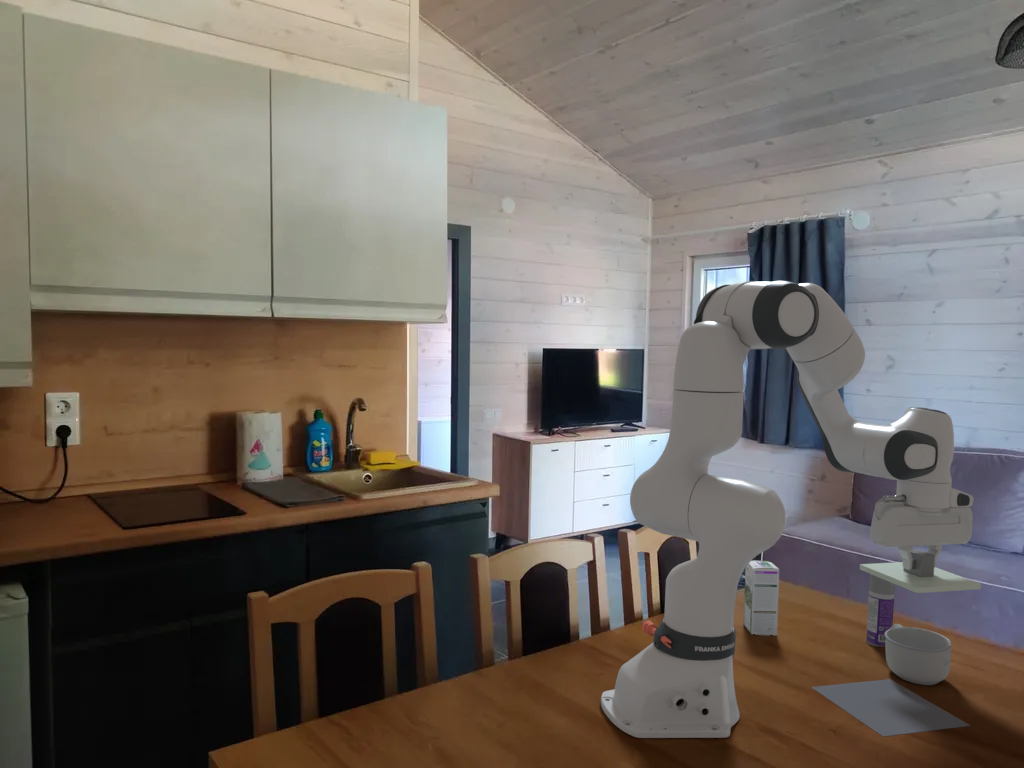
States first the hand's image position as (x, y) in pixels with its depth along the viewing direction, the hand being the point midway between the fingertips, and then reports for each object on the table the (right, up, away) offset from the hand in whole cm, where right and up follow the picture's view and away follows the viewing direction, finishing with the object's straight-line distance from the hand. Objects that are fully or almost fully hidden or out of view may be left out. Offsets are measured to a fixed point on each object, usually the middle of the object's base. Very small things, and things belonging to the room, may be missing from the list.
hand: (918, 568), depth 136 cm
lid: (0, -2, 0) cm, 2 cm away
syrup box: (-23, -19, +21) cm, 36 cm away
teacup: (-1, -21, +1) cm, 21 cm away
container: (0, -20, +16) cm, 25 cm away
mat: (-13, -20, -13) cm, 27 cm away
